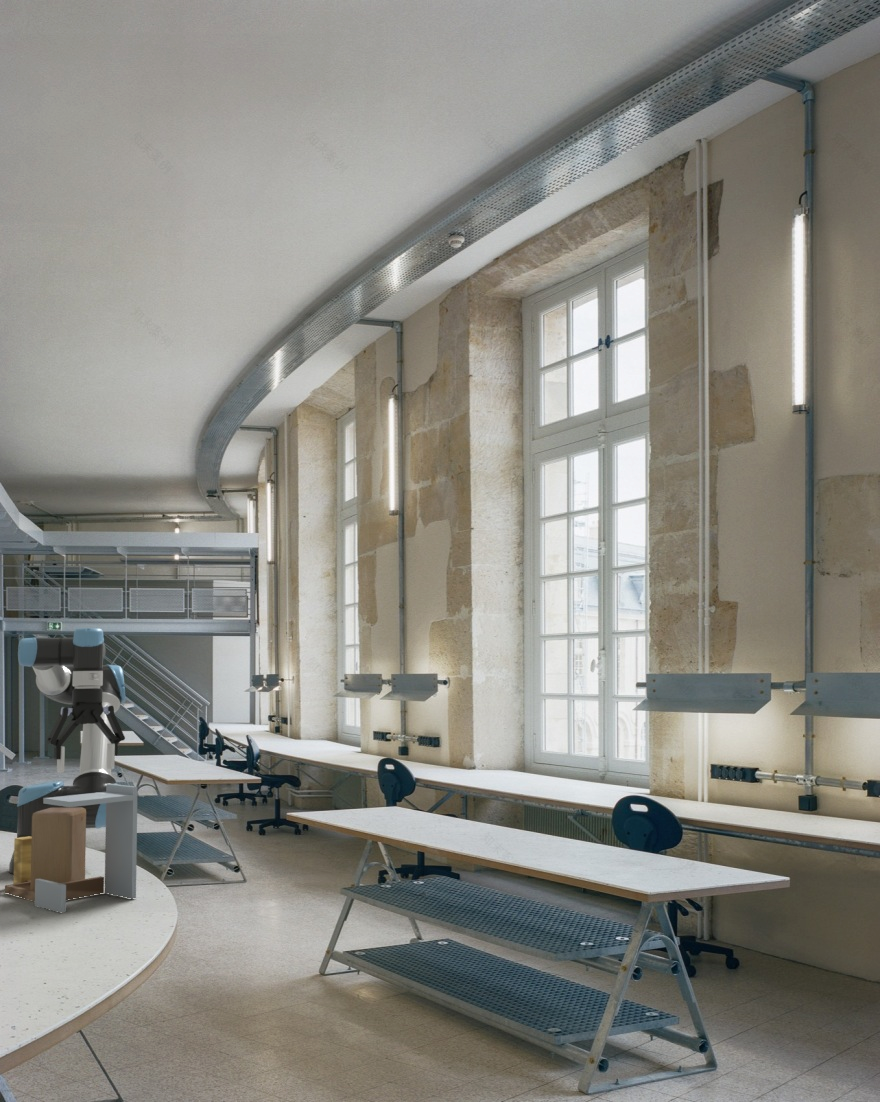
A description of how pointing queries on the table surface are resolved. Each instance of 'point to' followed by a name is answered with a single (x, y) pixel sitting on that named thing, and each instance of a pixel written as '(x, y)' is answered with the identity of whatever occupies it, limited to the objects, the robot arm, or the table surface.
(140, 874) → the table surface
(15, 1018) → the table surface
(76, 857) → the wooden block
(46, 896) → the shelf
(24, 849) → the pull yoke
